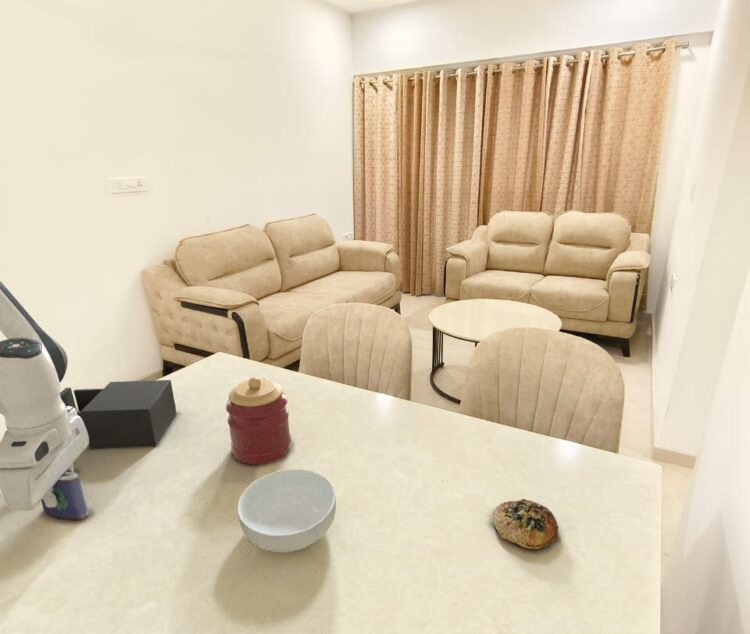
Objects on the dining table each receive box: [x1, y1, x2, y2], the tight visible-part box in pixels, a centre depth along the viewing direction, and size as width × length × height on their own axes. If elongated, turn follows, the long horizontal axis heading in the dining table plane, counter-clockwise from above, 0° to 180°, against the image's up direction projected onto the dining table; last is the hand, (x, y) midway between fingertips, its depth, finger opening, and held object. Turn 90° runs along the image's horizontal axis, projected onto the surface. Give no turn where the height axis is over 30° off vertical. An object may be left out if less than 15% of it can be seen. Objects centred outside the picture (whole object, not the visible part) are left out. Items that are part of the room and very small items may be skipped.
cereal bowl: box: [236, 468, 337, 554], centre depth 86 cm, size 17×17×7 cm
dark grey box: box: [81, 379, 178, 450], centre depth 118 cm, size 15×15×10 cm
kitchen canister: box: [225, 376, 292, 466], centre depth 108 cm, size 13×13×18 cm
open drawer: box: [60, 387, 104, 420], centre depth 117 cm, size 18×13×8 cm
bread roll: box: [492, 498, 559, 551], centre depth 87 cm, size 11×11×5 cm
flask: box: [40, 472, 90, 522], centre depth 90 cm, size 9×3×11 cm, turn 76°
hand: (60, 496), depth 91 cm, fingers closed on flask, 3 cm apart
